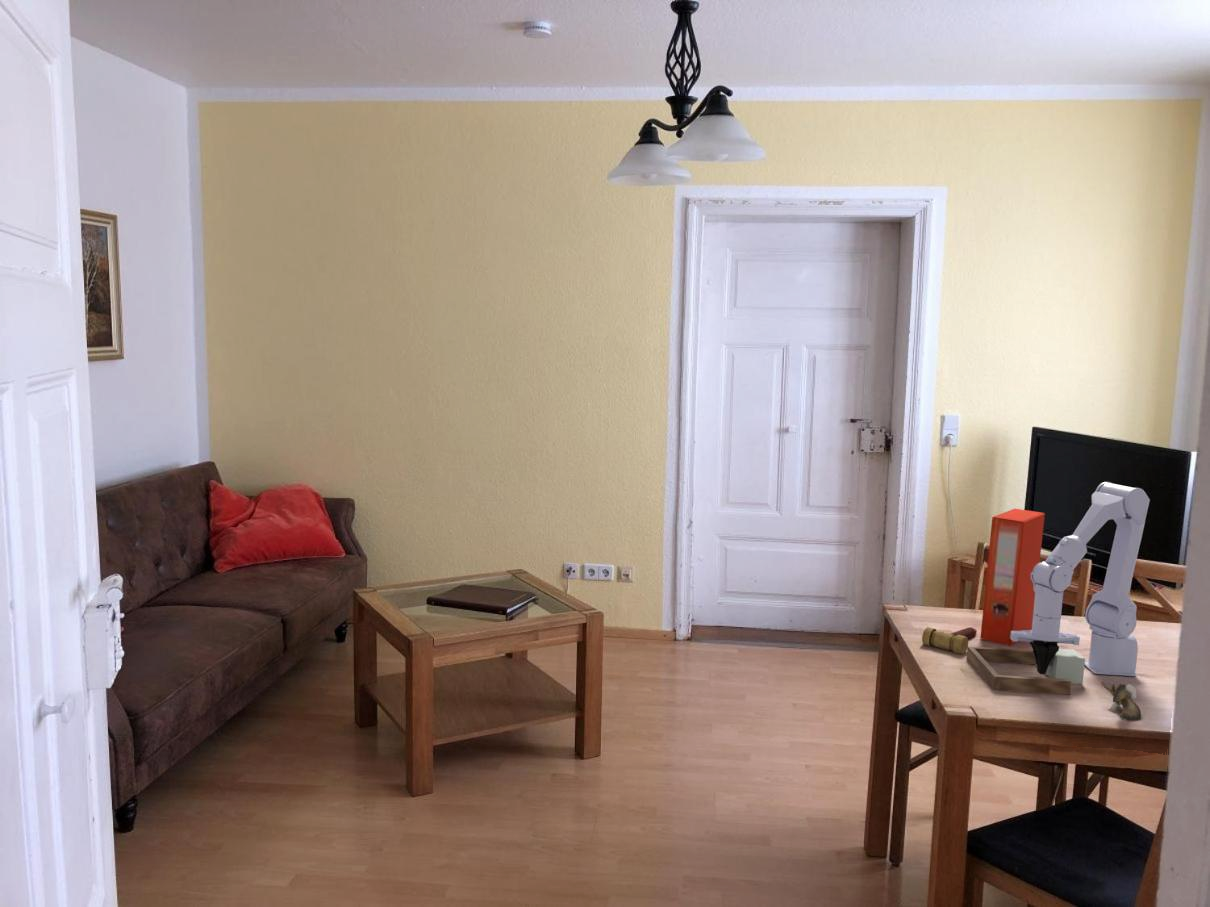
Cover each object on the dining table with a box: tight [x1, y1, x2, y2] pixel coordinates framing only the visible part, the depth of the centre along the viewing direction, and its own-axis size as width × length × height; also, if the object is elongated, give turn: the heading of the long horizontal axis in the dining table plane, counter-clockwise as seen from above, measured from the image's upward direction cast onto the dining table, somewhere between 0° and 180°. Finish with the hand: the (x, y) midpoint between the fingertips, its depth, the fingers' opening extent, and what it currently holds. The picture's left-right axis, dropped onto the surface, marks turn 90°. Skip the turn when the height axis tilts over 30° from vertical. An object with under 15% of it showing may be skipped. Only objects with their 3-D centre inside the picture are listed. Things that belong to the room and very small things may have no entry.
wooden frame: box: [966, 645, 1072, 695], centre depth 220 cm, size 16×20×3 cm
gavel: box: [921, 626, 978, 655], centre depth 244 cm, size 21×5×10 cm
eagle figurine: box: [1101, 681, 1142, 722], centre depth 200 cm, size 8×7×9 cm
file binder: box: [979, 508, 1046, 647], centre depth 248 cm, size 8×17×32 cm, turn 140°
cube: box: [1045, 648, 1086, 685], centre depth 219 cm, size 6×6×6 cm
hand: (1041, 672), depth 220 cm, fingers closed
